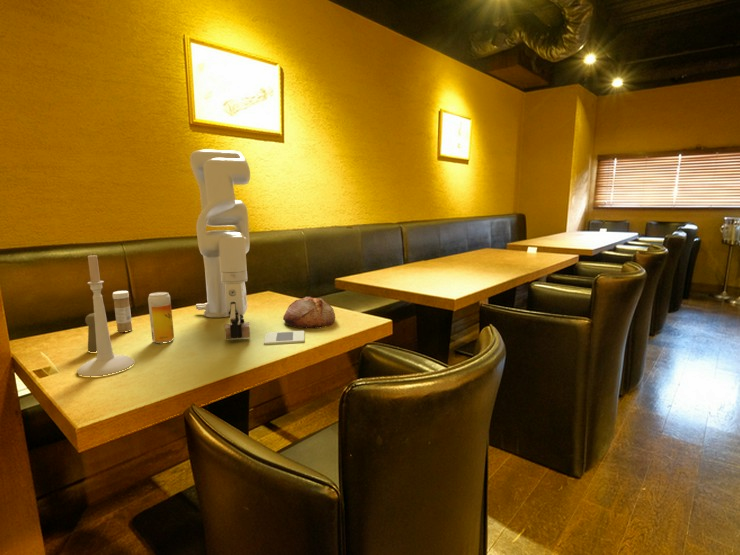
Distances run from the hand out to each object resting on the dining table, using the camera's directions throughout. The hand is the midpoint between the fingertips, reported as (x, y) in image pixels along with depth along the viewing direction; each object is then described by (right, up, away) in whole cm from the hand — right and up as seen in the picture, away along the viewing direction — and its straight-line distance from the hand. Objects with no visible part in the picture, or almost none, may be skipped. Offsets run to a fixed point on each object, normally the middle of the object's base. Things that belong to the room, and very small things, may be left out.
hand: (237, 333), depth 131 cm
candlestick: (-28, -6, -20) cm, 35 cm away
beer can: (-23, -3, 0) cm, 23 cm away
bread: (+19, +1, +19) cm, 28 cm away
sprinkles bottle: (-41, -1, +11) cm, 42 cm away
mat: (+14, -2, +2) cm, 14 cm away
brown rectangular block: (0, -1, 0) cm, 1 cm away
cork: (-38, -4, -7) cm, 39 cm away
